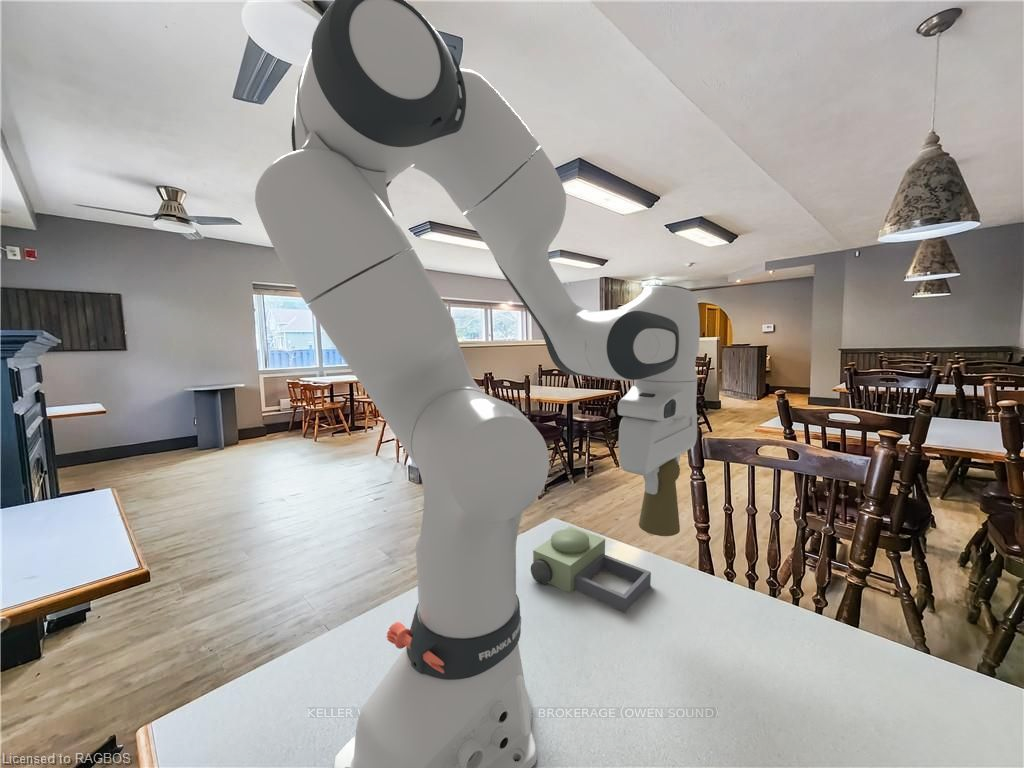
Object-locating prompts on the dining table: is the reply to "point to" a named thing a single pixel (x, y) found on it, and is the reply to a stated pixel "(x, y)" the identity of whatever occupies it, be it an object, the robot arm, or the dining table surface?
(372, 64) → the robot arm
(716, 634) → the dining table surface
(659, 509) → the brown knobbed peg
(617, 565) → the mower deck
